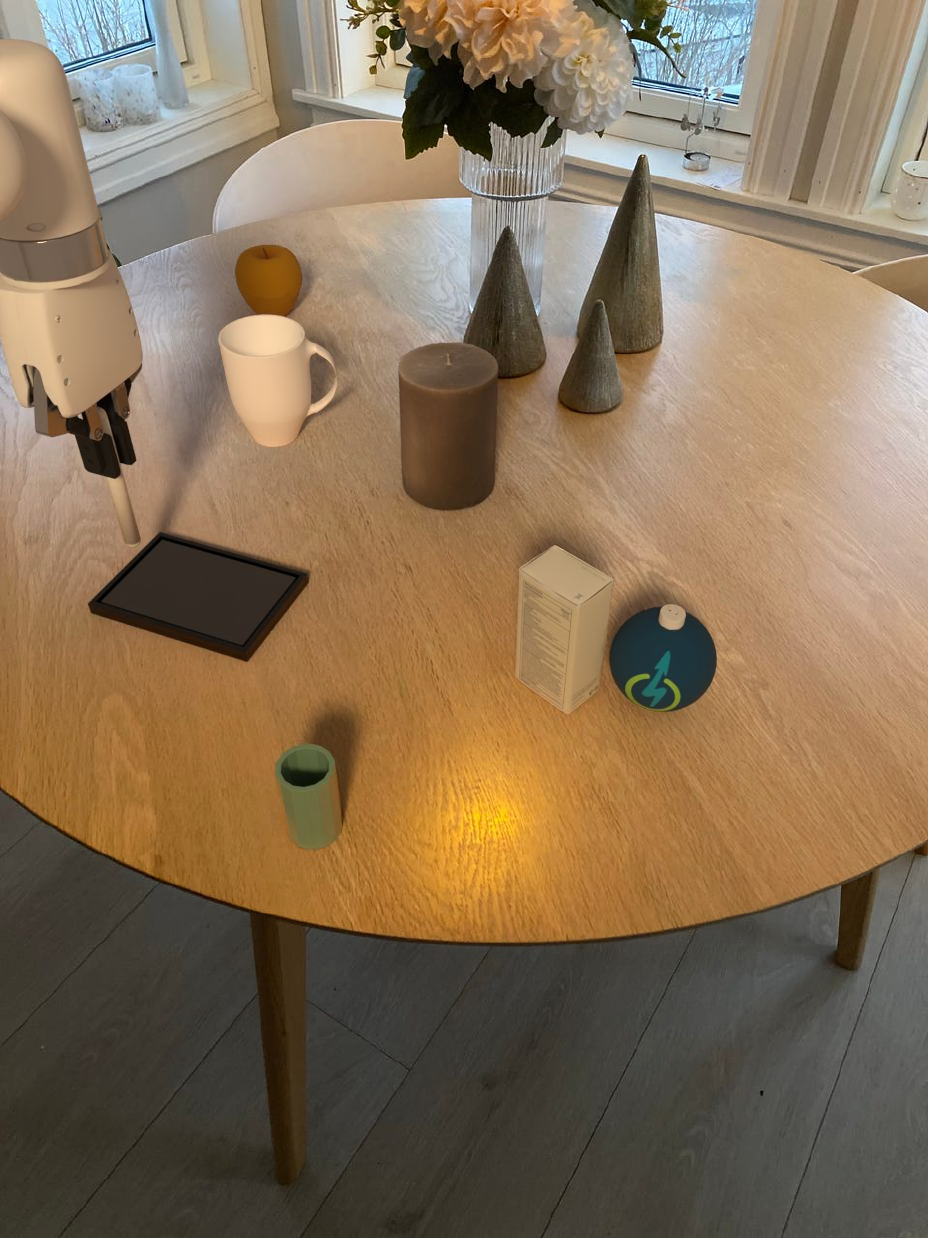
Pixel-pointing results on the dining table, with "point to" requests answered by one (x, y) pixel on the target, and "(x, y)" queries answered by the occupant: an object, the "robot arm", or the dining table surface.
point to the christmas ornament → (663, 658)
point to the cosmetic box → (562, 627)
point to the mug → (271, 376)
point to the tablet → (193, 637)
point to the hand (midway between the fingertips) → (111, 465)
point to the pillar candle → (448, 424)
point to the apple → (269, 279)
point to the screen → (200, 592)
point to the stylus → (121, 496)
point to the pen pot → (309, 796)
